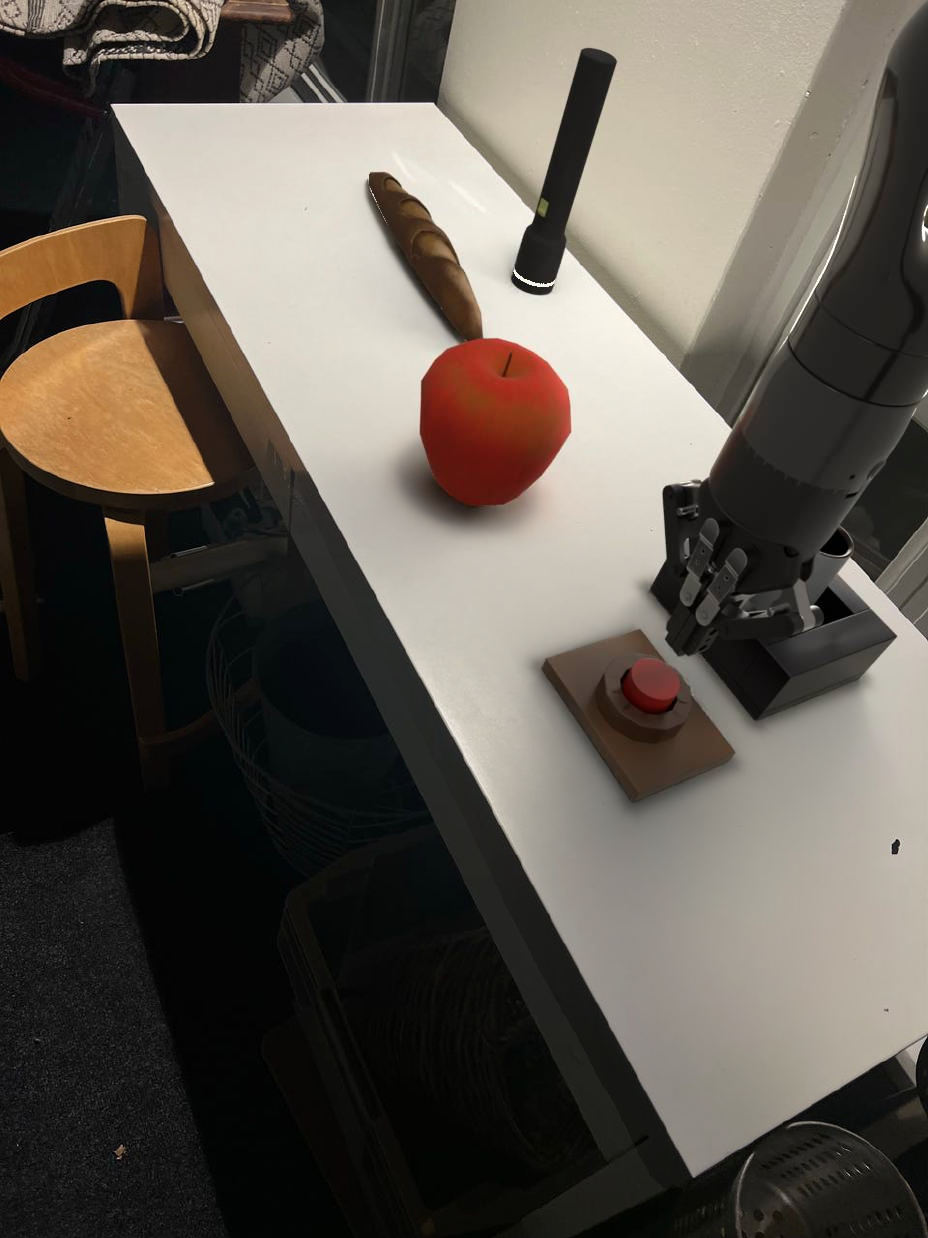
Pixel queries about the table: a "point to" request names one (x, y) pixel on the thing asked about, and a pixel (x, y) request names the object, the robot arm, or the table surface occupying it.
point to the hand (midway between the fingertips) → (681, 646)
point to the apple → (491, 420)
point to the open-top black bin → (794, 650)
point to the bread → (428, 254)
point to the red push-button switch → (635, 717)
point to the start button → (651, 686)
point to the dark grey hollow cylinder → (816, 570)
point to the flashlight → (564, 172)
